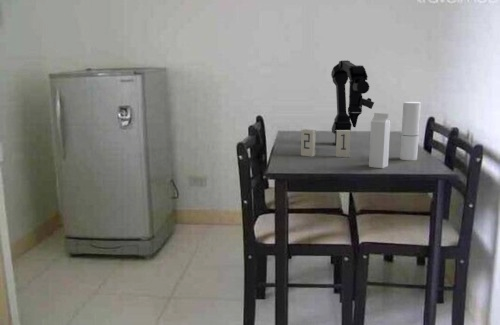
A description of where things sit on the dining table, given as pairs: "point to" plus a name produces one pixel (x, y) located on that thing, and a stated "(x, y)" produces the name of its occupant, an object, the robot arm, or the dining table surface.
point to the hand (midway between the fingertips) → (354, 126)
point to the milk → (379, 141)
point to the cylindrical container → (410, 130)
